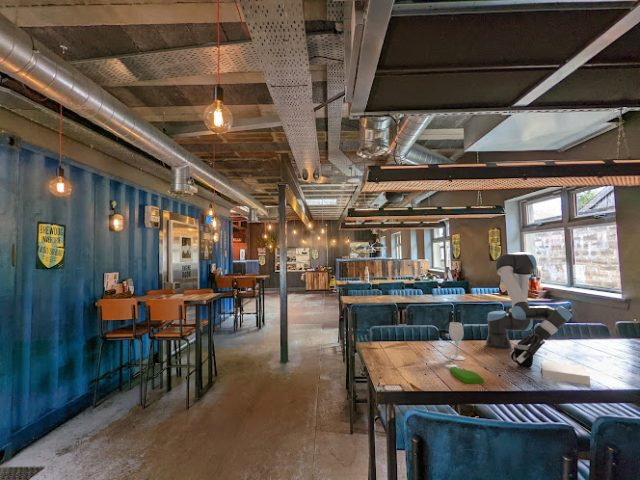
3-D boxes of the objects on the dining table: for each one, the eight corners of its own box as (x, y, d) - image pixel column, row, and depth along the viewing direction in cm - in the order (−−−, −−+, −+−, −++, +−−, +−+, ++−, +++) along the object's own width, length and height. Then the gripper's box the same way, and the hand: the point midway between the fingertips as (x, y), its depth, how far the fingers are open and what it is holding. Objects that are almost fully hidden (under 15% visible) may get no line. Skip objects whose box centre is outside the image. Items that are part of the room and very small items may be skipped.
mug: (525, 362, 179) (524, 344, 179) (538, 367, 170) (537, 348, 170) (506, 364, 177) (505, 345, 178) (518, 369, 168) (517, 350, 169)
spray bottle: (464, 385, 151) (440, 368, 176) (486, 384, 152) (459, 367, 177) (464, 378, 151) (440, 363, 176) (485, 377, 152) (459, 362, 177)
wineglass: (447, 356, 195) (445, 322, 197) (460, 355, 196) (458, 321, 197) (454, 360, 186) (452, 324, 188) (468, 360, 187) (466, 324, 189)
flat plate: (543, 378, 157) (542, 369, 157) (541, 368, 171) (540, 361, 171) (590, 385, 148) (589, 376, 148) (584, 374, 161) (583, 366, 161)
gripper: (561, 340, 161) (529, 370, 163) (541, 330, 182) (512, 357, 185) (549, 329, 163) (517, 359, 165) (530, 321, 184) (502, 347, 186)
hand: (514, 358), depth 175 cm, fingers closed on mug, 9 cm apart
